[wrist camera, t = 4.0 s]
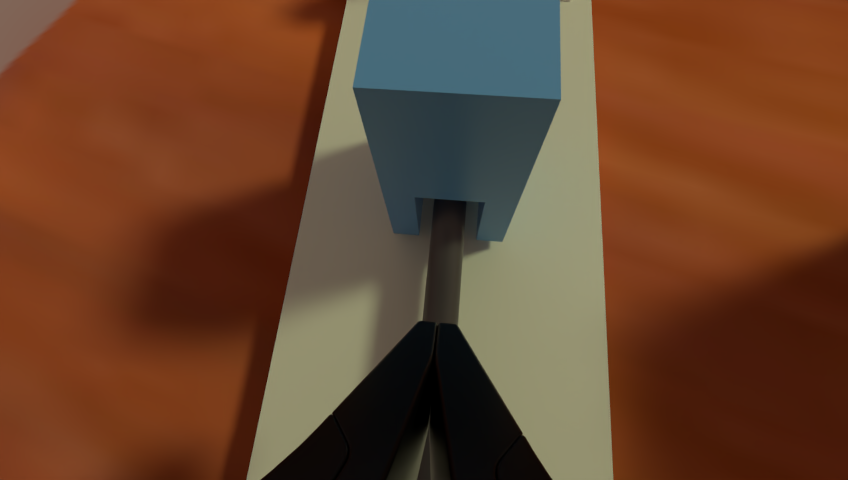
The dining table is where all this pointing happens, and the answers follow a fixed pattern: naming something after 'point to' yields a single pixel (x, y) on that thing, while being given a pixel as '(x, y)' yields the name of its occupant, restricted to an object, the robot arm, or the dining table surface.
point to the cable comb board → (452, 279)
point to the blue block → (457, 102)
